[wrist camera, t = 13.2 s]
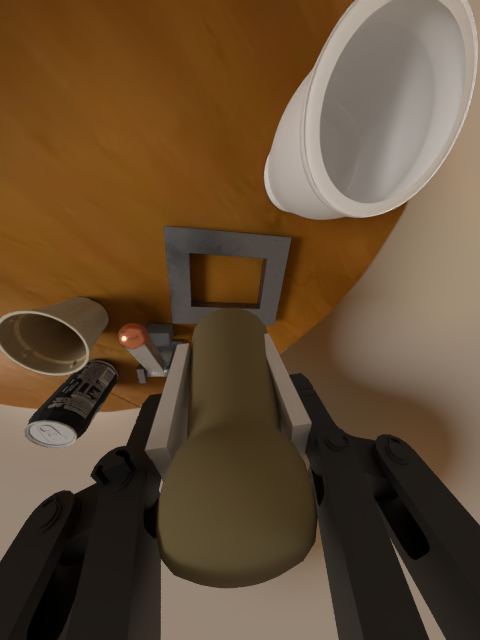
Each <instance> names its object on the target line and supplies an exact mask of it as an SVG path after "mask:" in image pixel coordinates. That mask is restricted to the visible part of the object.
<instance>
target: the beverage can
mask: <svg viewBox="0 0 480 640" xmlns="http://www.w3.org/2000/svg"><path fill="white" fill-rule="evenodd" d="M117 381H118V373H117V371H116V370H115V368H114V367H113V366H112V365H111V364H109V363H107V362H104V361H99V360H98V361H88V363H87V364H86V365H85V366H84V367H83V368H82V369H81V370H79V371H77V372H75V373H73V374H72V375H71V376H70V377H69V378H68V379H67V380H66V381H65V382H64V383H63V384H62V385H61V386H60V387H59V388H58V389H57V390H56V391H55V392H54V394H53V395H52V396H51V397H50V398H49V399H48V400H47V401H46V402H45V403H44V404H43V405H42V406H41V407H40V408H39V409H38V410H37V411H36V412H35V413H34V414H33V416H32V417H31V418H30V420H29V423H28V425H27V427H26V428H25V429H24V434H25V436H26V437H27V439H28V440H29V441H31V442H33V443H35V444H37V445H40V446H44V447H49V448H62V447H67V446H69V445H72V444H73V443H74V442H75V441H76V440H77V439H78V438H79V437H81V435H82V434H83V433H84V432H85V431H86V430H87V428H88V426H89V425H90V423H91V422H92V420H93V419H94V417H95V415H96V414H97V412H98V411H99V409H100V407H101V406H102V404H103V403H104V401H105V400H106V398H107V396H108V395H109V393H110V392H111V390H112V388H113V387H114V385H115V384H116V382H117Z"/></svg>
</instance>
